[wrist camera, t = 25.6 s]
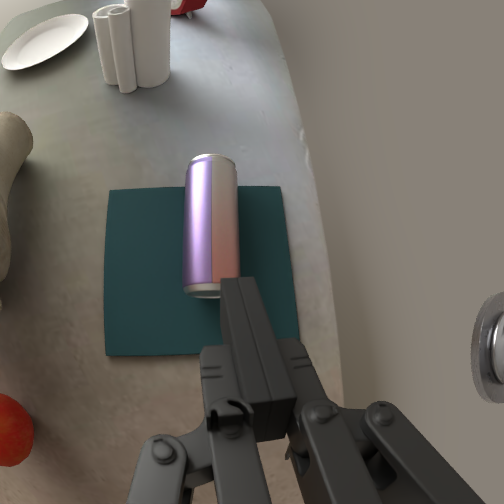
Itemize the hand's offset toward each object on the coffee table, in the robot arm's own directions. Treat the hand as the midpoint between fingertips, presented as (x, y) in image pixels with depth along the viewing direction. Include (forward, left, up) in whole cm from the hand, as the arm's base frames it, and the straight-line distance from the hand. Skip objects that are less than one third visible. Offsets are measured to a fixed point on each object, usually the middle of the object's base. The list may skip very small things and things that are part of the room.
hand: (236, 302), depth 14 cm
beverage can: (0, -3, -17) cm, 17 cm away
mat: (+1, -7, -21) cm, 22 cm away
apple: (+25, +12, -21) cm, 35 cm away
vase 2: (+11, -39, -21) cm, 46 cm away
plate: (+35, -56, -21) cm, 69 cm away
